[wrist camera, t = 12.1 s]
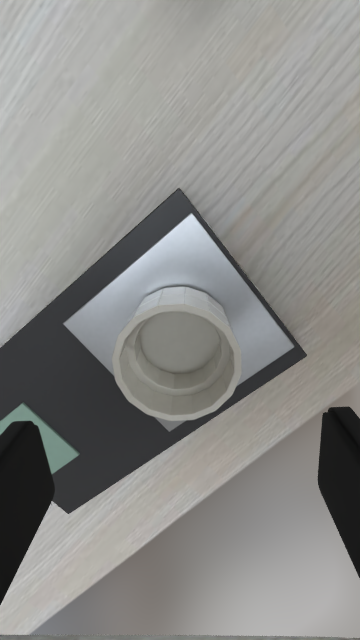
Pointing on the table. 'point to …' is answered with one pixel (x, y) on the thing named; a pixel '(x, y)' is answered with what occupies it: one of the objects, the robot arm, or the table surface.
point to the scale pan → (181, 271)
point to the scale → (100, 378)
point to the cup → (177, 355)
